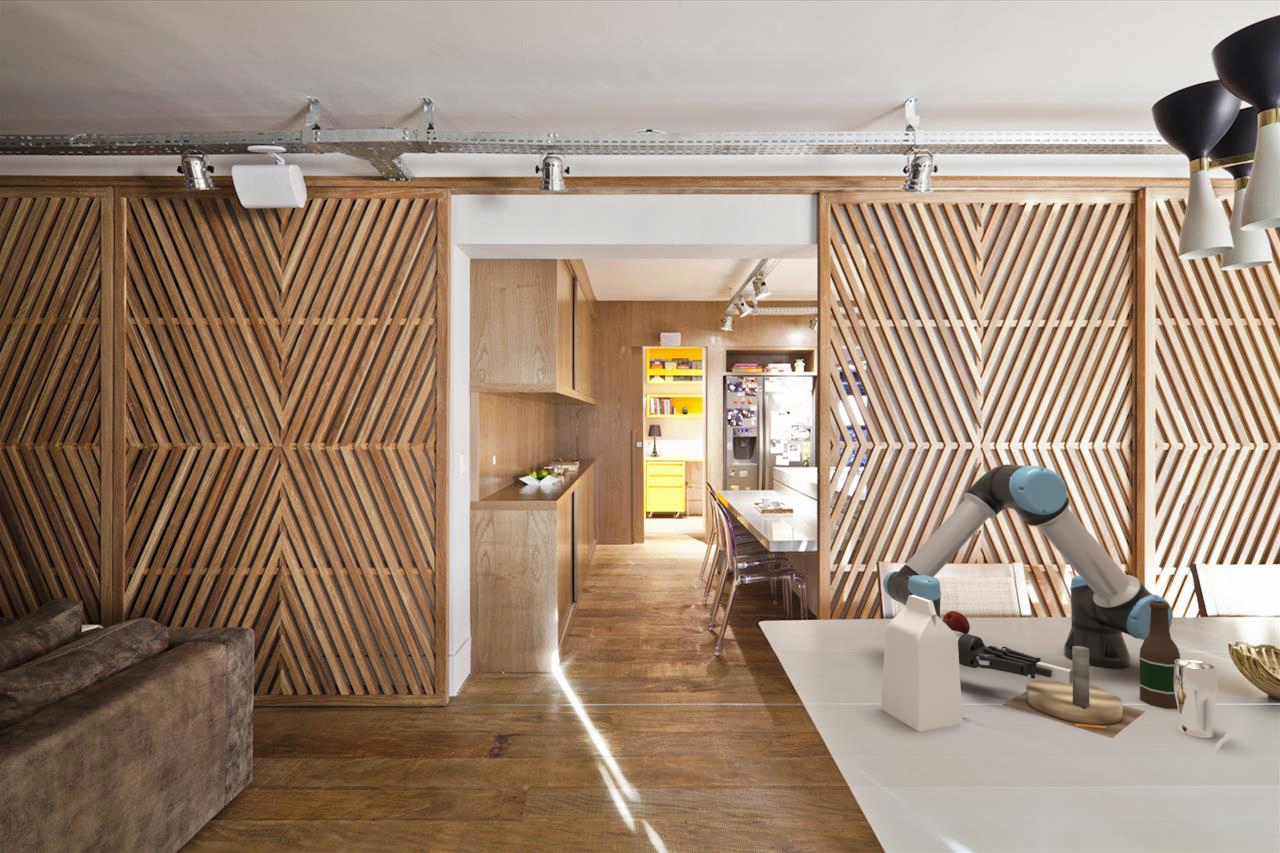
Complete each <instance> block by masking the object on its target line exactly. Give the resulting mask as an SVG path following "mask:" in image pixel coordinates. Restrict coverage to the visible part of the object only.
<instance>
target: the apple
mask: <svg viewBox="0 0 1280 853" xmlns="http://www.w3.org/2000/svg"><path fill="white" fill-rule="evenodd" d="M941 620H942V621H943V622H944V623H945V624H946V625H947V626H948V627H949V628H950V629H951V630H953V631H958V632H962V633H963V634H969V633H970V629H971V625H970V623H969V620H968V619H967V618H966V616H964V614H963V613H961V612H959V611H956V610H950V611H948V612H946V613H945V614H944V616H943V618H942V619H941Z"/></svg>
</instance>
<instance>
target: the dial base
mask: <svg viewBox="0 0 1280 853" xmlns="http://www.w3.org/2000/svg"><path fill="white" fill-rule="evenodd" d="M1002 706H1005V707H1009V708H1012V709H1016V710H1019V711H1022V712H1025V713H1028V714H1032V715H1035V716H1038V717H1042V718H1045V719H1047V720H1051V721H1054V722H1057V723H1058V722H1059V723H1061V724H1064V725H1068V726H1071V727H1074V728H1077V729H1081V730H1083V731H1084V730H1085V731H1087V732H1091V733H1094V734H1098V735H1101V736H1104V737H1108V738H1110V739H1113V738H1114V737H1115V736H1116V735H1118V734H1119V733H1120V732H1121V731H1123V730H1124V729H1125V728H1127V727H1128V726H1129V725H1130V724H1132V723H1133V722H1134V721H1135V720H1137V719H1138V718H1139V717H1141V715H1143V714H1144V713H1146V711H1145V710H1141V709H1137V708H1134V707H1131V706H1130V707H1129V706H1127V705H1123V719H1122V720H1121V721H1120V722H1117V723H1113V724H1086V723H1079V722H1073V721H1069V720H1064V719H1061V718H1057V717H1054V716H1051V715H1048V714H1046V713H1043V712H1041V711H1039V710H1037V709H1035V708H1034V707H1032V706H1031V705H1030V704H1029V703H1028V702H1027V700H1026V691H1025V692H1023V693H1021V694H1020V695H1018V696H1016V697H1014V698H1012V699H1010V700H1009V701H1007V702H1005V703H1003V704H1002Z"/></svg>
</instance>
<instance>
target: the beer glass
mask: <svg viewBox="0 0 1280 853" xmlns="http://www.w3.org/2000/svg"><path fill="white" fill-rule="evenodd" d="M1216 673H1217V672H1216V666H1214V665H1213V664H1211V663H1208V662H1204V661H1200V660H1195V659H1187V658H1180V659H1176V660H1174V670H1173V688H1174V694H1175V699H1176V704H1177V708H1178V709H1177V713H1178V721H1177V726H1176V729H1177V730H1178V731H1179V732H1180V733H1183V734H1185V735H1187V736H1192V737H1196V738H1202V739H1211V738H1214V736H1215V735H1214V729H1213V717H1214V711H1215V707H1216V702H1217V697H1218V681H1217V674H1216Z"/></svg>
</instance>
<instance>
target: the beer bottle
mask: <svg viewBox="0 0 1280 853" xmlns="http://www.w3.org/2000/svg"><path fill="white" fill-rule="evenodd" d="M1168 603H1169V602H1168ZM1168 603H1166V602H1162V601H1151V602H1150V605H1149V606H1150V607H1151V616H1150V630H1149V635H1148V637H1147V638H1146V639H1145V640H1143V642H1142V645H1141V646H1140V649H1139V699H1140V701H1141V702H1144V704H1147V705H1149V706H1153V707H1156V708H1161V709H1162V708H1163V709H1167V710H1174V709H1177V710H1178V708H1177V704H1176V699H1175V694H1174V688H1173V670H1174V660H1176V659H1181V655H1180V654H1181V653H1180V650H1179V648H1178V646H1177V644H1176V643H1175V642H1174V640H1173V639H1172V637H1171V632H1170V628H1169V619H1168V609H1169V605H1168Z"/></svg>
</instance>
